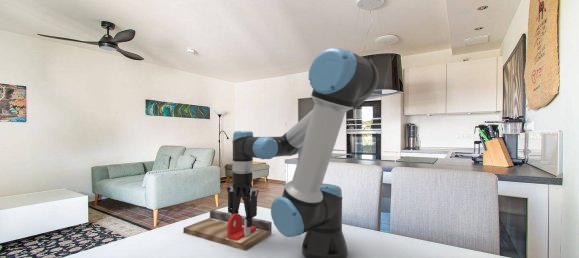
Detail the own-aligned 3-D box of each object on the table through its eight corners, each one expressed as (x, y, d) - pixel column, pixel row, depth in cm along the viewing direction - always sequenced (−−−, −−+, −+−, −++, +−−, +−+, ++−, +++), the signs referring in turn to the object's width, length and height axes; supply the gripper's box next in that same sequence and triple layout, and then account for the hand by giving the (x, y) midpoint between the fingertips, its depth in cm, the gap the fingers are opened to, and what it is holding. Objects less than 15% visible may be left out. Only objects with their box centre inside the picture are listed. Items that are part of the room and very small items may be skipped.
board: (271, 234, 103) (271, 221, 103) (245, 250, 89) (246, 236, 89) (213, 220, 119) (213, 209, 119) (183, 232, 105) (183, 220, 105)
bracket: (236, 240, 92) (237, 218, 92) (227, 238, 94) (227, 216, 94) (257, 229, 102) (257, 209, 102) (248, 227, 104) (248, 207, 104)
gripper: (267, 172, 97) (266, 235, 97) (231, 168, 105) (230, 226, 105) (255, 175, 90) (254, 242, 90) (218, 171, 99) (217, 232, 99)
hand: (241, 233), depth 98 cm, fingers closed on bracket, 4 cm apart
